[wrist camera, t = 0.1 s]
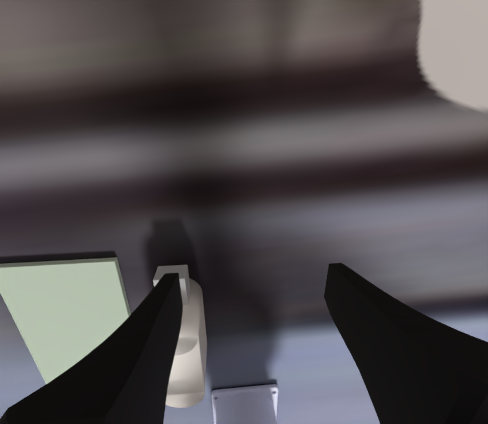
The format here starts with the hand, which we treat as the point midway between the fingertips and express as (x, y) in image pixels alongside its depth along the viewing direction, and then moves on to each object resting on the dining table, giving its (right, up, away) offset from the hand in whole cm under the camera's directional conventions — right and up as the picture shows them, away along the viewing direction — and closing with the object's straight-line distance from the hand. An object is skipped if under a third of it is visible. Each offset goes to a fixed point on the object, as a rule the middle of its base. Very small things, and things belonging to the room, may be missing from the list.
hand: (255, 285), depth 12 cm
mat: (-16, -8, +13) cm, 22 cm away
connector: (-7, -6, +13) cm, 16 cm away
